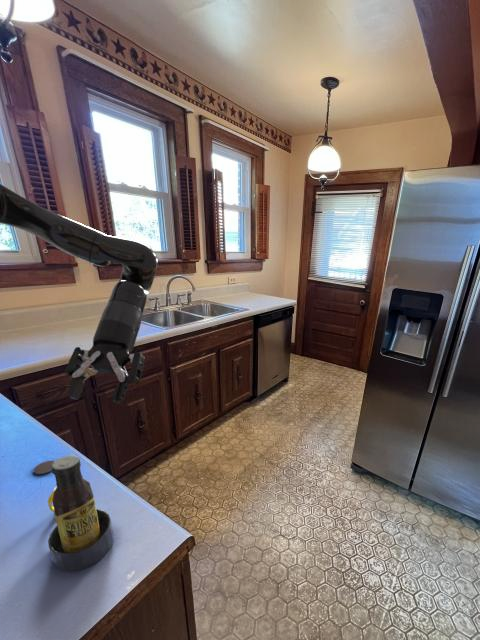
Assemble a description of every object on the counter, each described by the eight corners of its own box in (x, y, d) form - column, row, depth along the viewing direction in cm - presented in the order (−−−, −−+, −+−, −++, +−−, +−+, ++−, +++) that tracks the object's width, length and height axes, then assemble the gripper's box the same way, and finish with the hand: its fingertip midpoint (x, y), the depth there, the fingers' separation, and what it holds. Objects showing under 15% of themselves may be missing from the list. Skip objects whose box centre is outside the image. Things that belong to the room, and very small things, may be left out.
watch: (81, 497, 72) (75, 476, 69) (85, 503, 70) (80, 483, 68) (50, 511, 67) (43, 490, 65) (54, 519, 66) (47, 497, 63)
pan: (40, 562, 57) (34, 545, 55) (84, 520, 66) (80, 504, 64) (85, 578, 55) (80, 561, 53) (125, 532, 64) (121, 516, 62)
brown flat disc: (28, 472, 78) (28, 471, 78) (47, 460, 82) (46, 459, 82) (44, 476, 77) (44, 475, 77) (62, 464, 81) (62, 463, 81)
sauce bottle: (74, 568, 56) (48, 482, 49) (58, 548, 59) (32, 465, 52) (110, 542, 61) (91, 461, 54) (93, 526, 64) (74, 447, 57)
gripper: (76, 315, 63) (45, 391, 57) (144, 320, 62) (120, 397, 56) (97, 333, 70) (71, 402, 64) (158, 338, 69) (139, 408, 63)
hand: (94, 400), depth 60 cm, fingers open, 8 cm apart
